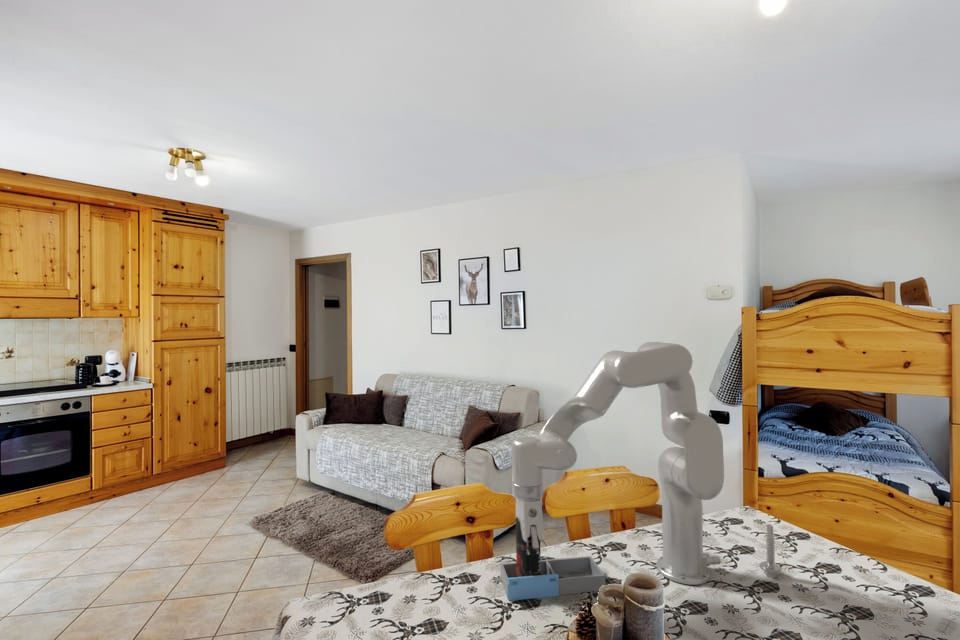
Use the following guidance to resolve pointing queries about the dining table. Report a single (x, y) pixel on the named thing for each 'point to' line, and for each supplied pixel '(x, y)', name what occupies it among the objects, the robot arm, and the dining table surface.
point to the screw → (770, 556)
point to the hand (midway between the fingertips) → (528, 561)
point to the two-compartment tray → (552, 579)
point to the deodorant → (521, 554)
